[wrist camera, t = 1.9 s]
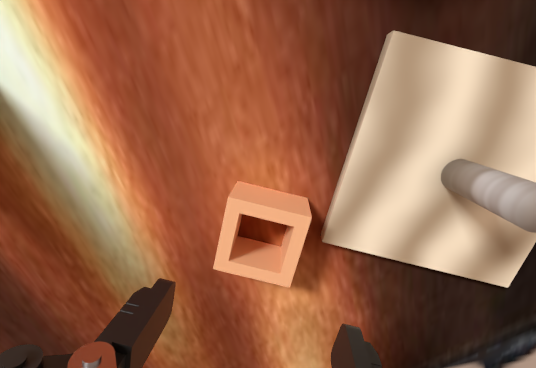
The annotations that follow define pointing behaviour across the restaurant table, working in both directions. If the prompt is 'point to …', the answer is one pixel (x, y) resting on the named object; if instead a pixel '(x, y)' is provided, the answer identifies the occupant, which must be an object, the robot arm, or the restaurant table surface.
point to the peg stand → (442, 163)
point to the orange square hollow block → (256, 252)
